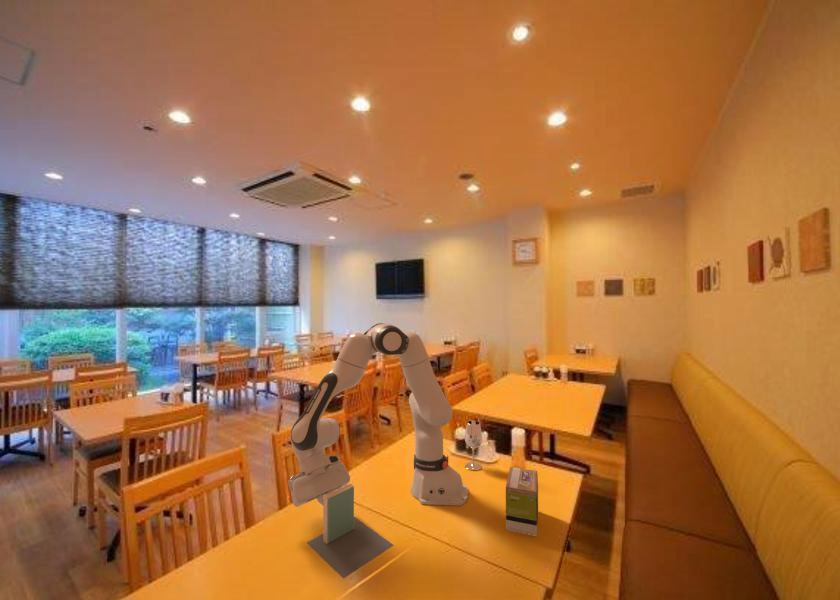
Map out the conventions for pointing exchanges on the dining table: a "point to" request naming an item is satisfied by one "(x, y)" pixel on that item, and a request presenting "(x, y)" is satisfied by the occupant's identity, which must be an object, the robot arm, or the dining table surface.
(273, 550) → the dining table surface
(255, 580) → the dining table surface
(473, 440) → the wineglass
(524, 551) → the dining table surface
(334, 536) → the glazed tile
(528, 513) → the tea box
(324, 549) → the slate mat
